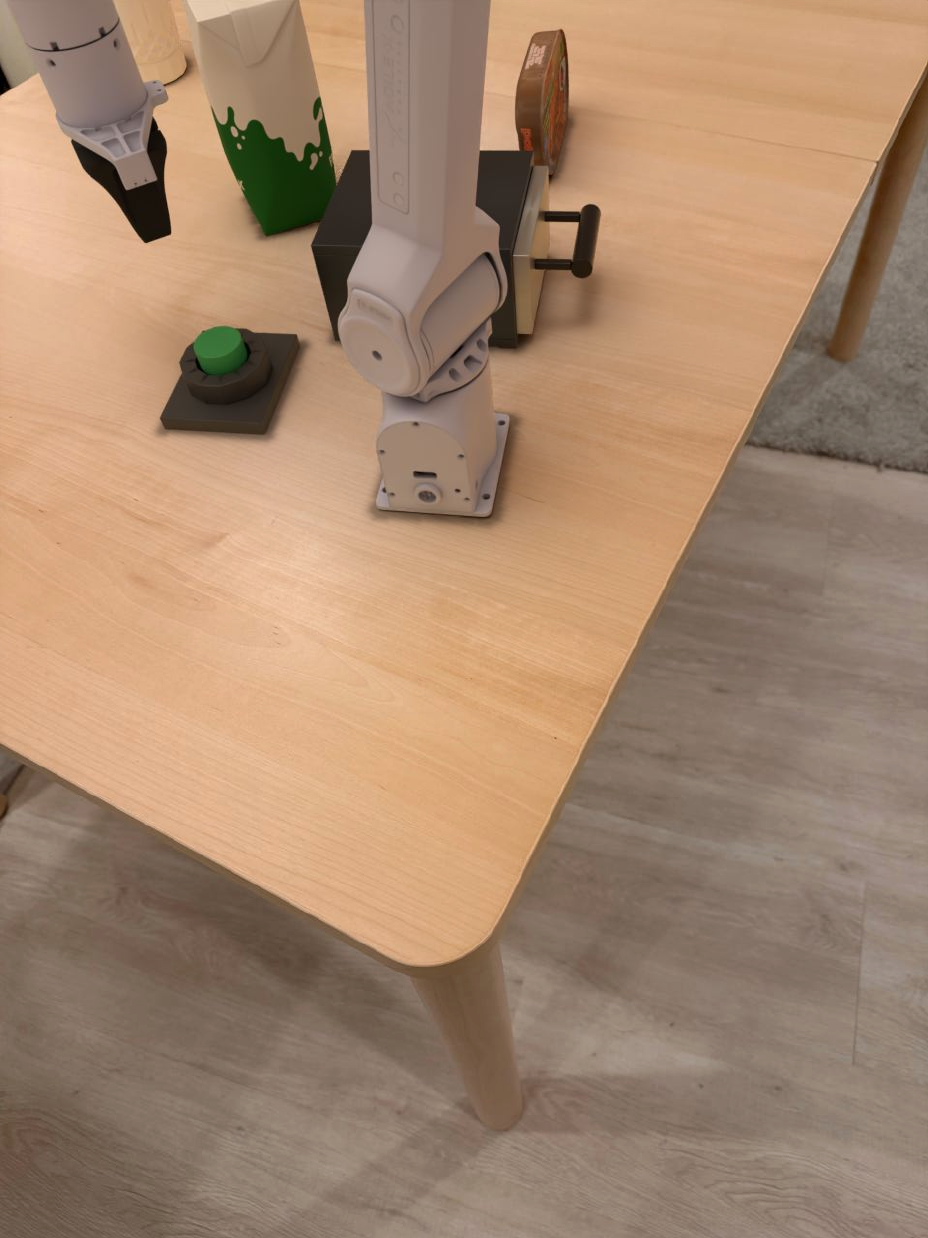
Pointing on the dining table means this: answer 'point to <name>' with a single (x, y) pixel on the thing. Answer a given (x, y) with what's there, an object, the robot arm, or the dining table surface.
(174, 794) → the dining table surface
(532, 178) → the drawer
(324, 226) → the cabinet
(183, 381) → the button box
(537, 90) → the tin
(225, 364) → the button
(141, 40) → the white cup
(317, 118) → the milk carton
